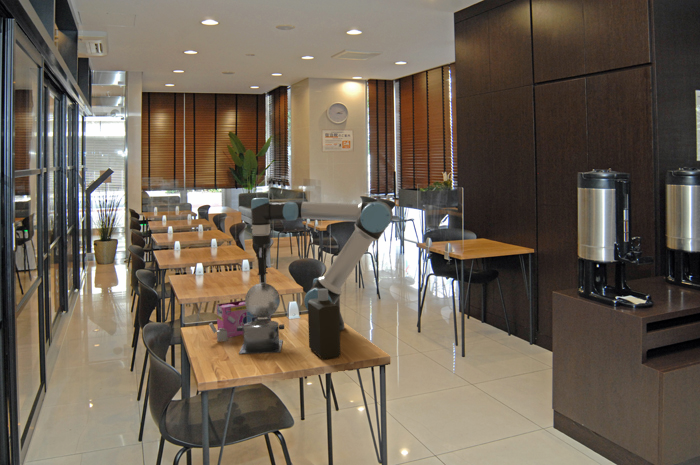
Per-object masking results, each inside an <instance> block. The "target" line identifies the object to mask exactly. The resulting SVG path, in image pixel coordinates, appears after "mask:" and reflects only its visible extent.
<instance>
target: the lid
mask: <svg viewBox="0 0 700 465" xmlns="http://www.w3.org/2000/svg"><path fill="white" fill-rule="evenodd" d="M244 298H245V299H244V300H245V305H246V308H247V310H248V311H249V312H250V313H251V314H252V315H253V316H255V317H258V319H267V317H269V316H271V317H272V315H274V314H275V313H276V312H277V311H278V310H279V309H278V308H279V306H280V303H281V298H280V294H279V292H278V290H277V289H276V287H275V286H273V285H271V284H269V283H267V282H266V283H260V282H259V283H256V284H254V285H253V286H251V287H250V288H249V289H248V291H247V292H246V294H245V297H244Z"/></svg>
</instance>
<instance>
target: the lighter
mask: <svg viewBox="0 0 700 465" xmlns="http://www.w3.org/2000/svg"><path fill="white" fill-rule="evenodd" d="M208 325H209V327H210V330H212V333H213V334H215V333H216V339H217V340H216V341H217V342H228V337H227V330H225V328H219V329H220V330H218V329H216V326H215V325H214V323H213V322H210V323H208Z"/></svg>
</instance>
